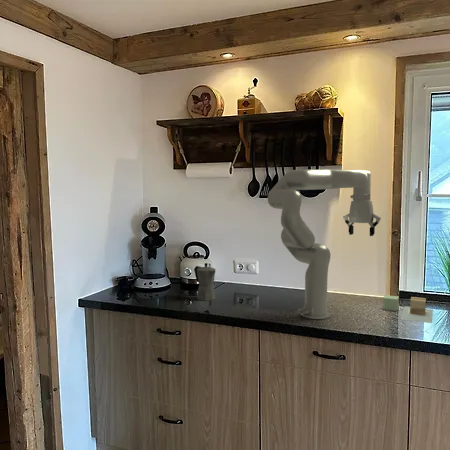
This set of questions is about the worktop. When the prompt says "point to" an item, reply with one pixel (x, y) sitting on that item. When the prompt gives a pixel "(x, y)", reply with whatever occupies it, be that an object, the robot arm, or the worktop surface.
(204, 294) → the coffeepot
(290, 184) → the robot arm
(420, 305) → the oak block
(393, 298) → the green block
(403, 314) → the plan board
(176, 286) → the worktop surface
